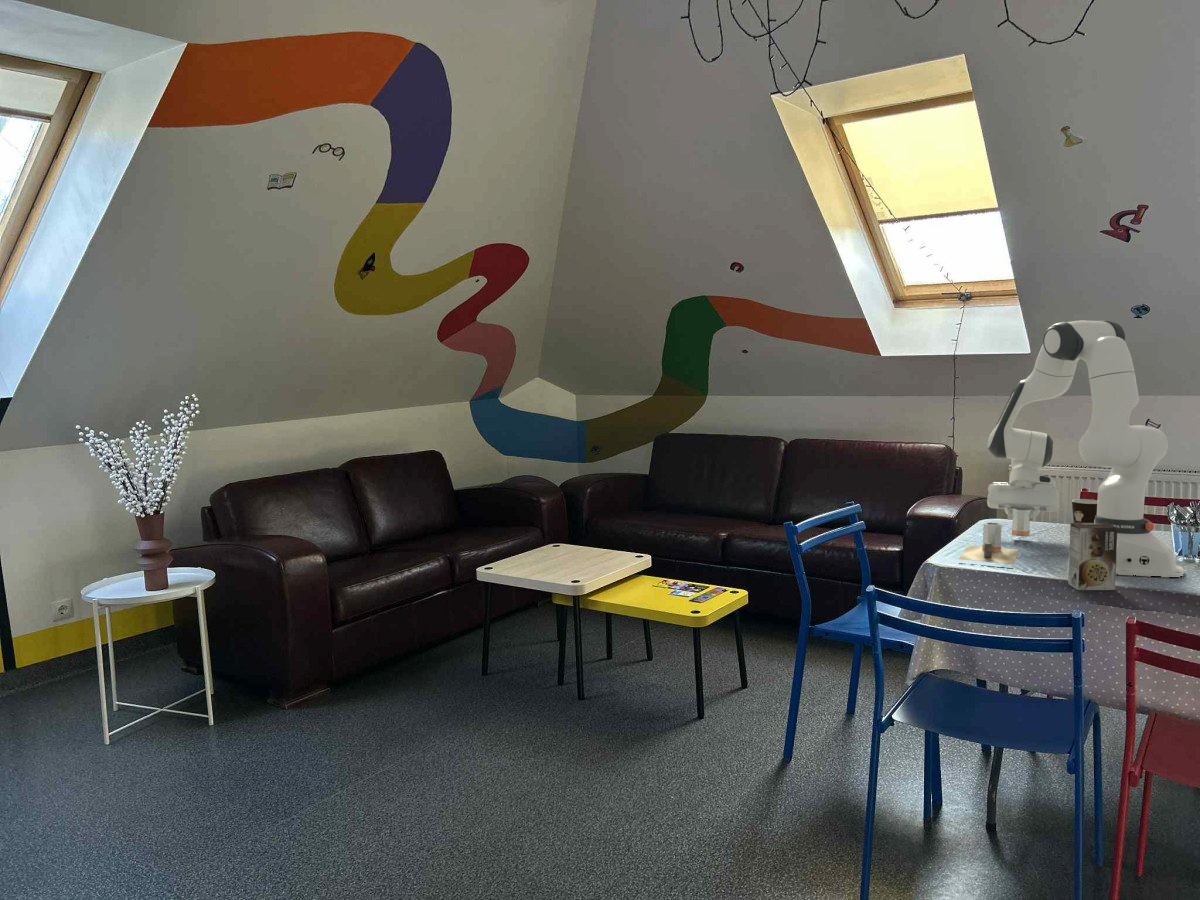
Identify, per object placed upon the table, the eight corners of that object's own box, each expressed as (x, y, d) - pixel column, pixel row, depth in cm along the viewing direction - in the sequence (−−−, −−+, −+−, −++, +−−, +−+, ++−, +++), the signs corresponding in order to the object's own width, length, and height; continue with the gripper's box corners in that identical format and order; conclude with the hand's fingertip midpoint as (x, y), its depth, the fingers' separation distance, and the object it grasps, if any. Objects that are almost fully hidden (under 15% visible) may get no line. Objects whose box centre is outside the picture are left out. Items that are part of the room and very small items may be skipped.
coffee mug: (1065, 529, 303) (1066, 499, 302) (1091, 528, 303) (1092, 499, 301) (1083, 536, 291) (1085, 505, 290) (1110, 535, 291) (1112, 505, 290)
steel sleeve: (1030, 534, 280) (1030, 508, 279) (1028, 536, 275) (1029, 510, 275) (1012, 532, 282) (1013, 507, 281) (1011, 535, 278) (1012, 509, 277)
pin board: (1019, 554, 267) (1019, 536, 266) (1013, 569, 249) (1013, 549, 249) (968, 550, 274) (968, 532, 273) (958, 564, 256) (959, 544, 256)
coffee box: (1104, 584, 233) (1107, 522, 231) (1115, 591, 226) (1119, 527, 224) (1066, 583, 233) (1069, 522, 232) (1077, 590, 227) (1080, 526, 225)
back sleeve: (1001, 549, 267) (1002, 522, 266) (999, 553, 262) (1000, 525, 262) (983, 548, 269) (984, 521, 268) (981, 551, 265) (982, 524, 264)
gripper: (988, 475, 288) (983, 511, 281) (1060, 478, 278) (1057, 515, 271) (989, 488, 292) (985, 523, 285) (1060, 491, 283) (1058, 527, 275)
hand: (1021, 519), depth 278 cm, fingers closed on steel sleeve, 5 cm apart
